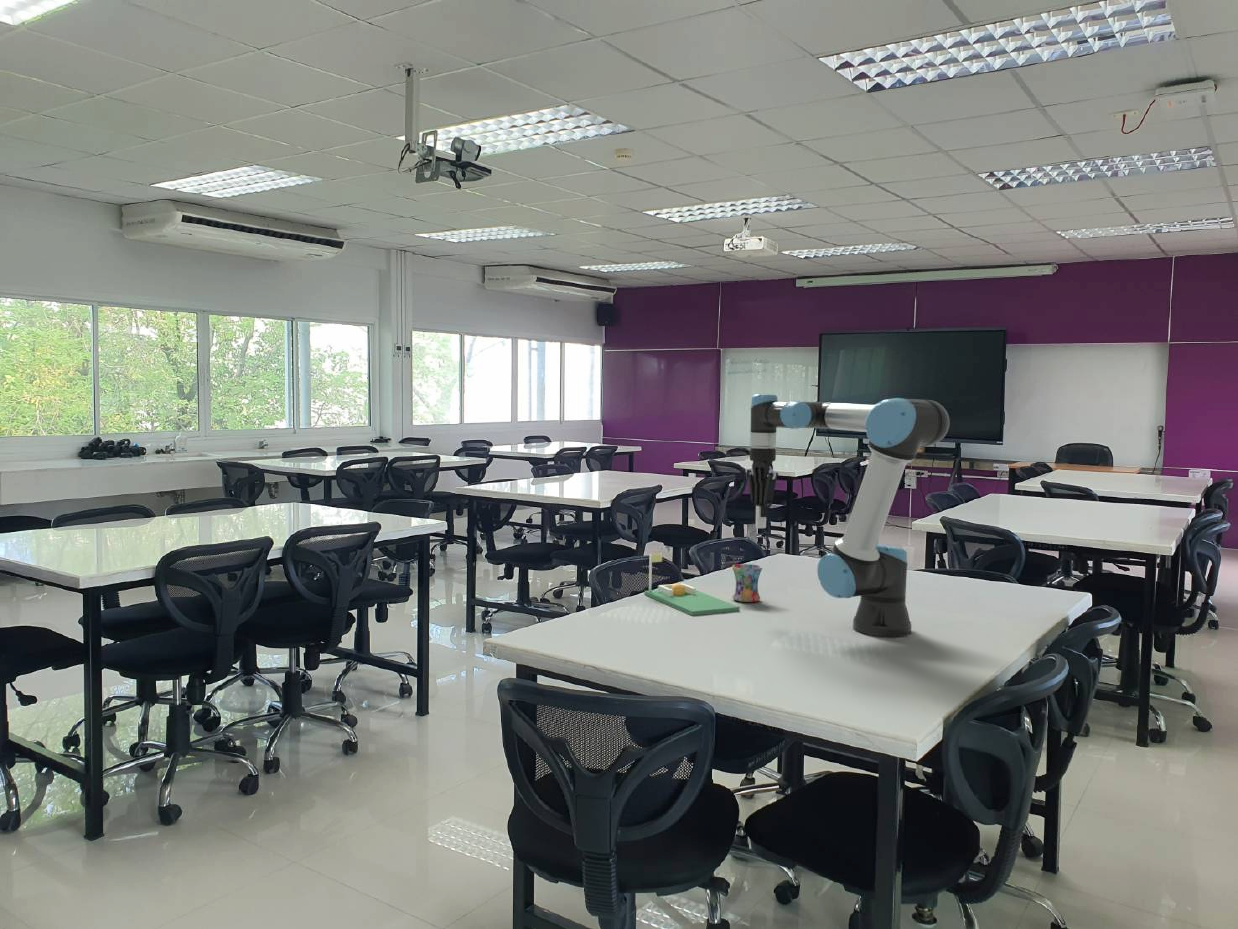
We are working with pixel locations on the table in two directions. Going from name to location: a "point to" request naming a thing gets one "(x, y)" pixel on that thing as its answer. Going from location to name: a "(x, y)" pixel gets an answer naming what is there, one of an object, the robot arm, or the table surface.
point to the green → (687, 597)
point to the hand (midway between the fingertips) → (760, 527)
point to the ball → (678, 590)
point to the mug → (746, 582)
